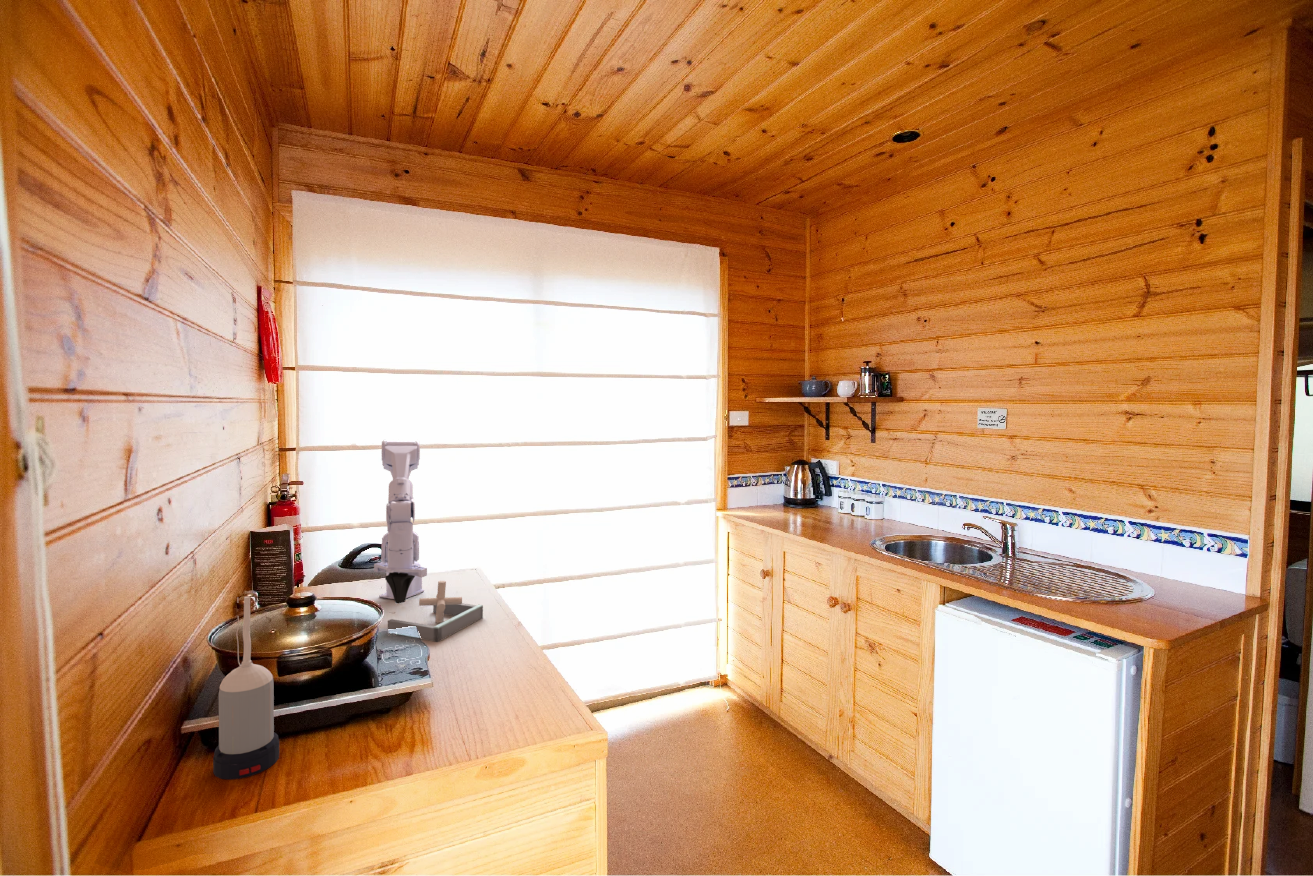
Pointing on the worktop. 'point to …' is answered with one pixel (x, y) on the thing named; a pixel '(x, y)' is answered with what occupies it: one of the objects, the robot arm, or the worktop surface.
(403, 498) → the robot arm
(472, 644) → the worktop surface
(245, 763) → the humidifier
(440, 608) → the pipe connector
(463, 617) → the frame
